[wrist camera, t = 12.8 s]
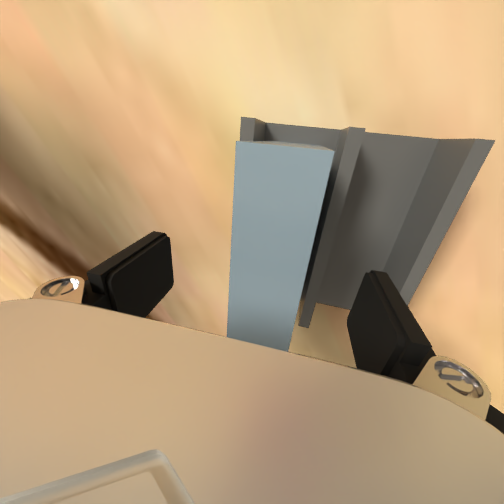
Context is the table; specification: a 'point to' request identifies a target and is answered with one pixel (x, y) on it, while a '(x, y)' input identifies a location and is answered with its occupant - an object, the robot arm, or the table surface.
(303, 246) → the pale blue upright panel
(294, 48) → the table surface
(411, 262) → the dish rack
